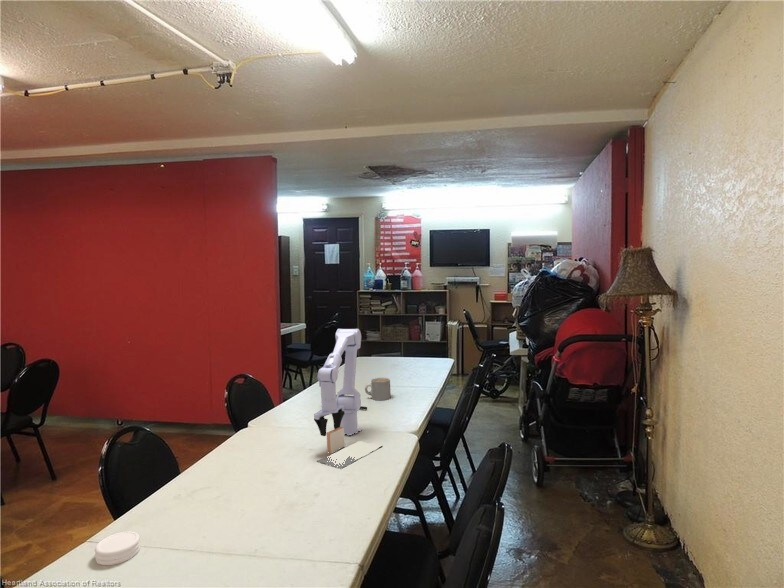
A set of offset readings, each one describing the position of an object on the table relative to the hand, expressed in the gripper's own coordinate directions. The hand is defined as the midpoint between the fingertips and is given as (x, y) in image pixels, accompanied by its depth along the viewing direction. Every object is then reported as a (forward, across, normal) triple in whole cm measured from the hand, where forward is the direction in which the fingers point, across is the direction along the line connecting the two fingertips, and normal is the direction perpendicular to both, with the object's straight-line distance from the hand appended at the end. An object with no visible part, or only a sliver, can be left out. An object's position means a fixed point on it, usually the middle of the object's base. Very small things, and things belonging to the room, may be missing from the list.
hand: (330, 432), depth 188 cm
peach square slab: (+6, 0, -3) cm, 7 cm away
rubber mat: (+6, 0, -10) cm, 12 cm away
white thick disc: (+7, -80, -2) cm, 80 cm away
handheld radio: (+7, +42, +31) cm, 53 cm away
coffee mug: (+7, +65, +28) cm, 71 cm away
